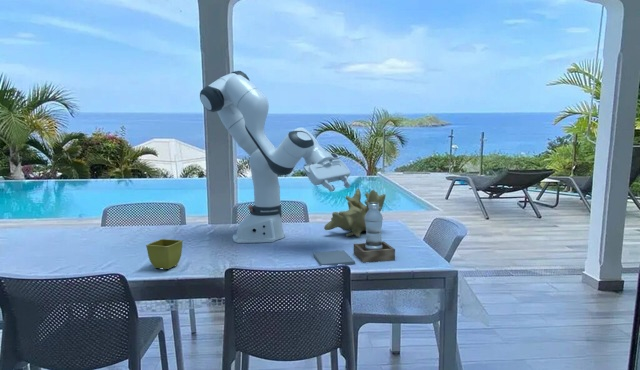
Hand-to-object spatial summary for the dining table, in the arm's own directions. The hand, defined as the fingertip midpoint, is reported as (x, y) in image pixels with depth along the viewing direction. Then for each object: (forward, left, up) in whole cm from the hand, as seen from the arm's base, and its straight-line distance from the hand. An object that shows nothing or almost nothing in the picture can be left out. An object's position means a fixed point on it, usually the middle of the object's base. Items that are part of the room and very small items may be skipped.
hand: (341, 188), depth 164 cm
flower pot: (-63, -1, -25) cm, 68 cm away
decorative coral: (+14, +25, -25) cm, 38 cm away
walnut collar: (+10, -9, -24) cm, 28 cm away
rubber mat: (-5, -8, -24) cm, 26 cm away
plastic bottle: (+10, -9, -25) cm, 28 cm away
